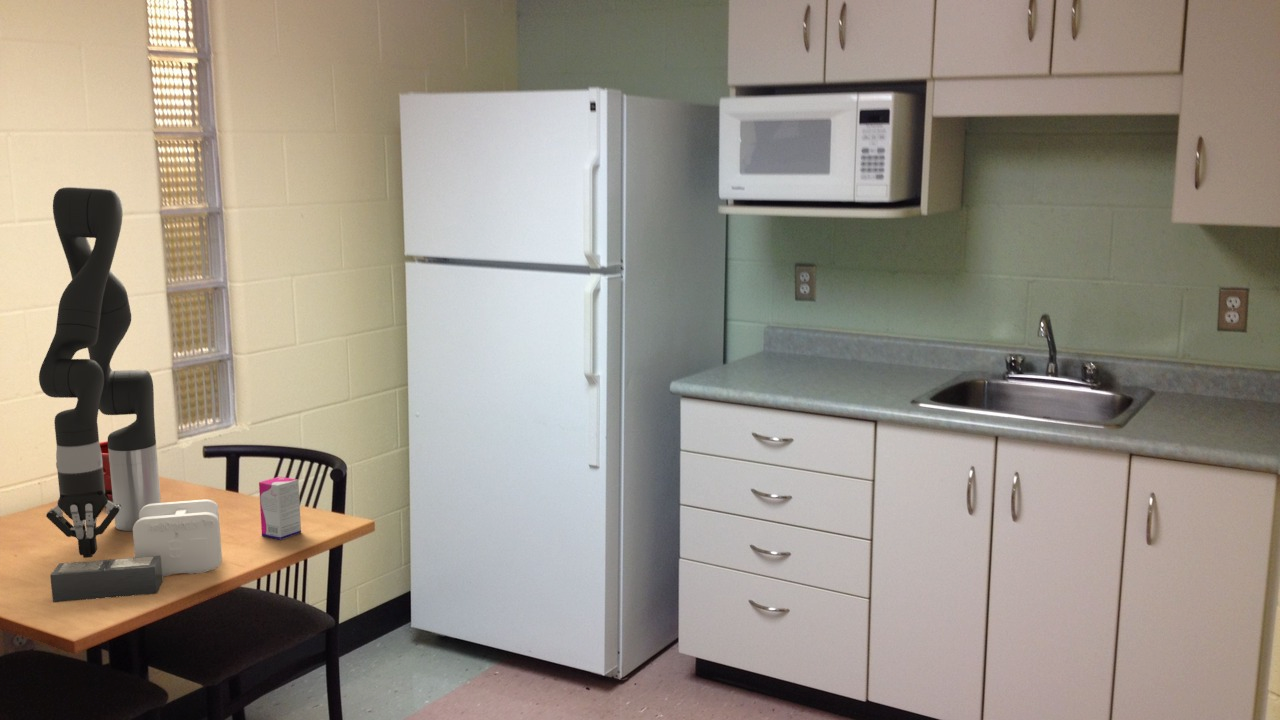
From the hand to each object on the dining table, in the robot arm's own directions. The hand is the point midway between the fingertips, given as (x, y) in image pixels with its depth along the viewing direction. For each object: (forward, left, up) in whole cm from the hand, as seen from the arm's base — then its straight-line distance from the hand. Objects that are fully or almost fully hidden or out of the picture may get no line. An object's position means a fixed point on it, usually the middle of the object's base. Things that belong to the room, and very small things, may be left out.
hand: (88, 556), depth 212 cm
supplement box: (-16, +33, -4) cm, 37 cm away
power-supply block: (+10, +5, -4) cm, 12 cm away
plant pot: (-54, -5, -4) cm, 54 cm away
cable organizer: (0, +16, -4) cm, 17 cm away
